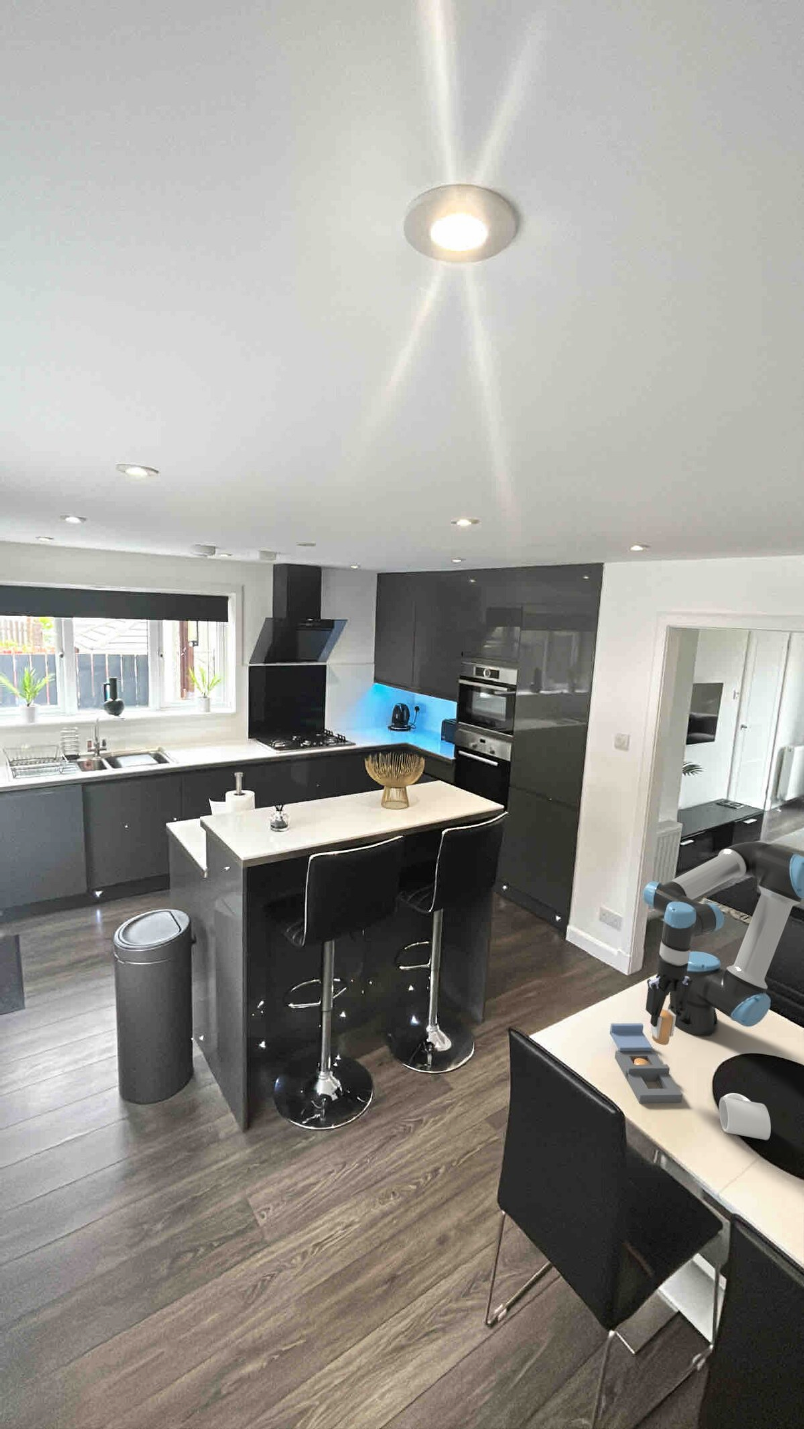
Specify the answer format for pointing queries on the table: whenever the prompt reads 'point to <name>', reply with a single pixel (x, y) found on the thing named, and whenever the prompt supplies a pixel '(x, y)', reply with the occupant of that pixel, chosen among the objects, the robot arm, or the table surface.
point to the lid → (629, 1037)
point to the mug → (744, 1117)
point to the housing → (648, 1076)
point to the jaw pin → (664, 1028)
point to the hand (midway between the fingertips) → (661, 1034)
